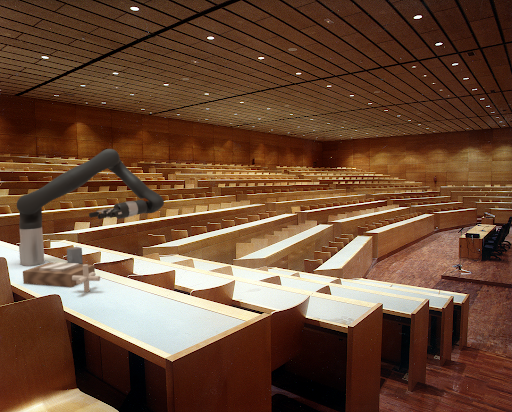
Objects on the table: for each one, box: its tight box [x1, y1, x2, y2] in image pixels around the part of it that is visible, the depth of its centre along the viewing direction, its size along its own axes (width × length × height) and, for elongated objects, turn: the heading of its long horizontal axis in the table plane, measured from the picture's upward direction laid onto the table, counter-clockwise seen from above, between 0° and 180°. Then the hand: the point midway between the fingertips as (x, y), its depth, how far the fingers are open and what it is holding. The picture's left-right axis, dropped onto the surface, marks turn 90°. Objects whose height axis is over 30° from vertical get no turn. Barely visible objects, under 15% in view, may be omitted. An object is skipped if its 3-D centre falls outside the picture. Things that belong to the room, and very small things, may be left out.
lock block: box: [66, 246, 84, 264], centre depth 167 cm, size 4×4×10 cm
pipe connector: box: [72, 264, 101, 293], centre depth 138 cm, size 10×10×10 cm
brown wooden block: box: [22, 261, 96, 288], centre depth 153 cm, size 22×14×6 cm, turn 77°
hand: (93, 216), depth 171 cm, fingers open, 8 cm apart
